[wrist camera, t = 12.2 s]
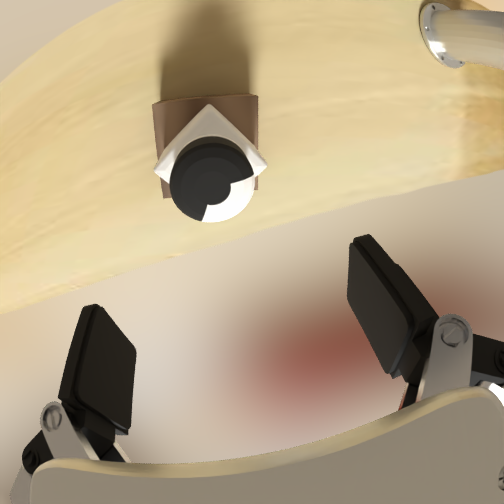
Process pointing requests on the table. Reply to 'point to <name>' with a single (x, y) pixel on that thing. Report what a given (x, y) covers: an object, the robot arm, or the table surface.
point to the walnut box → (185, 109)
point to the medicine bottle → (210, 167)
